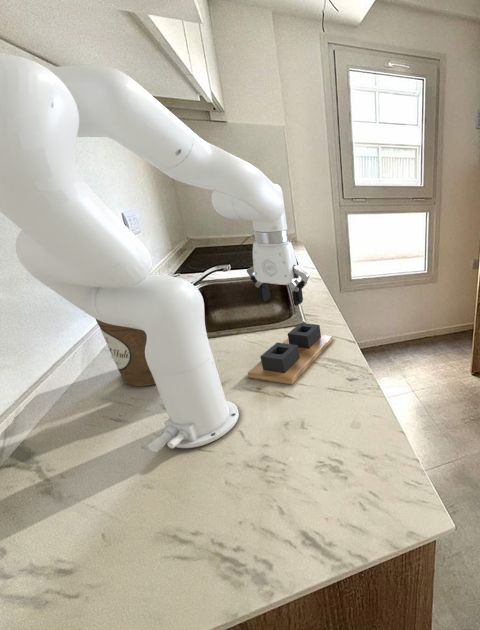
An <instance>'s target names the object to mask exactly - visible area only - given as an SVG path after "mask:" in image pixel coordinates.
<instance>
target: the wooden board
mask: <svg viewBox="0 0 480 630" xmlns="http://www.w3.org/2000/svg"><path fill="white" fill-rule="evenodd" d="M305 333H306V332H305ZM333 341H334V339H333V336H332V335H325V334H321V337H320V338H319V339H318V340H317V341H316V342H315V343H314V344H313V345H312V346H311V347H310V348H309V349H307V348H300V347H298V350H299V356H300V358H299V359H298V360H297V361H296V362H295V363H294V364H293V365H292V366H291V367H290V368H289V369H288V370H287V371H286V372H285V373H280V372H274V371H267V370H263V366H262V362H261V361H259V362H258V363H257V364H255V366H253V368H251V369H250V370H248V371H247V376H248V378H250V379H256V380H261V381H269V382H275V383H282V384H288V385H294V383H296V381H297V380H298V379H299V378H300V377H301V375H303V374H304V372H305V371H306V370H307V369H308V368H309V367H310V366H311V365H312V364H313V362H315V361H316V359H317V358H318V357H319V356H320V355H321V354H322V353H323V352H324V351H325V350H326V349H327V348H328V346H330V344H331V343H332V342H333ZM282 343H285V344H289V339H288V338H286V339H285V340H284V341H282ZM279 355H282V354H279Z"/></svg>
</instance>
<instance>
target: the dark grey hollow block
mask: <svg viewBox="0 0 480 630" xmlns="http://www.w3.org/2000/svg"><path fill="white" fill-rule="evenodd" d="M305 332H306V333H305ZM321 335H322V333H321V326H320V324H314V323H307V322H300V323H298V324H297V325H296V326H295V327H294V328H293V329H291V330H290V331H288V333H287V339H289V344H292V345H298V347H300V348H307V349H309V348H310V347H311V346H312V345H313V344H314V343H315V342H316V341H317V340H318V339H319V338H320V337H321Z"/></svg>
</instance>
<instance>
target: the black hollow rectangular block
mask: <svg viewBox="0 0 480 630" xmlns="http://www.w3.org/2000/svg"><path fill="white" fill-rule="evenodd" d="M279 354H282V355H279ZM259 357H260V362H262V366H263V370H267V371H274V372H280V373H285V372H286V371H287V370H288V369H289V368H290V367H291V366H292V365H293V364H294V363H295V362H296V361H297V360H298V359H299V358H300V356H299V350H298V345H292V344H285V343H283V342H276V343H274V344H273V345H272V346H270V347H269V348H268V349H267V350H266V351H265V352H264V353H263V354H261V355H260V356H259Z"/></svg>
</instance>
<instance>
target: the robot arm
mask: <svg viewBox="0 0 480 630" xmlns="http://www.w3.org/2000/svg"><path fill="white" fill-rule="evenodd" d="M77 138H108V139H110V140H113V141H115V142H116V143H118V144H119V145H121V146H123V147H124V148H125V149H127V150H129V151H130V152H132V153H133V154H135V155H137V157H139V158H141V159H142V160H144V161H146V162H147V163H149V164H150V165H152V166H153V167H154V168H156V169H157V170H159V171H160V172H162V173H163V174H164V175H166V176H168V177H169V178H171V179H172V180H175V181H178V182H180V183H184V184H186V185H189V186H192V187H196V188H200V189H205V190H209V191H212V194H211V199H210V200H211V205H212V206H213V209H214V210H215V212H216V213H218V215H220V216H222V217H224V218H225V219H228V220H229V219H230V220H233V221H234V220H235V221H251V222H252V228H253V231H251V234H250V235H251V236H252V237H253V238H254V239H255V242H253V243H252V266H251V267H249V268H247V269H246V273H247V274H248V276H249V277H250V281H252V282H253V284H254V285H255V288H257V289H258V295H259V298H260V302H261V303H264V302H267V301H269V300H270V299H271V293H270V286H269V284H272V285H280V286H282V285H283V286H290V288H291V289H292V290H293V291H291V294H292V302H293V306H294V307H298V306H299V305H301V304H302V303H303V301H304V296H303V289H304V288H305V286H306V285H307V284H308V281H309V278H310V274H309V273H308V272H307V271H305V270H303V269H301V268H300V267H298V261H297V257H296V253H295V250H294V247H293V244H292V242H290V238H289V231H288V230H289V229H288V224H287V223H288V222H287V217H286V207H285V202H284V201H285V200H284V194H283V189H282V187H281V186H280V185H279V184H277V183H274V182H273V181H271V180H270V178H268V177H267V176H266V175H265V174H264V173H263V172H262V171H261V170H260V169H259V168H257V167H256V166H254V165H252V164H251V163H250V162H248V161H246V160H244V159H242V158H240V157H238V156H236V155H234V154H232V153H230V152H229V151H226V150H224V149H222V148H221V147H219V146H216V145H214V144H212V143H210V142H207V141H205V139H202V138H201V137H200V136H199V135H198V134H197V133H195V131H193V130H192V129H191V128H190V127H189V126H188V125H187V124H185V123H184V122H183V121H182V120H180V118H178V117H177V115H175V114H173V112H172V111H170V110H169V109H168V108H167V107H166V106H165V105H163V104H162V103H161V102H160V101H159V100H158V99H157V98H156V97H154V96H153V95H152V94H151V93H150V92H149V91H148V90H146V89H145V88H144V87H143V86H142V85H141V84H139V83H138V82H137V81H136V80H134V78H132V77H130V76H129V75H128V74H126V73H125V72H123V71H121V70H119V69H117V68H114V67H110V66H106V65H100V64H99V65H97V64H93V65H92V64H89V65H88V64H86V65H84V64H83V65H68V66H67V65H66V66H63V65H62V66H44V65H42V64H40V63H38V62H36V61H34V60H31V59H29V58H27V57H23V56H19V55H15V54H10V53H3V52H2V53H1V52H0V213H2V214H3V216H5V217H6V218H7V219H8V220H10V221H11V222H12V223H13V224H15V226H17V227H18V229H20V232H19V233H18V234H17V237H16V239H15V252H16V256H17V258H18V261H19V262H20V263H21V265H22V266H23V267H24V269H25V271H27V272H28V273H29V274H30V275H31V276H32V277H34V278H35V279H36V281H38V282H40V283H41V284H43V285H44V286H45V287H47V288H49V289H50V290H52V291H53V292H54V293H56V295H59V296H60V297H62V298H63V299H64V300H66V301H68V302H69V303H70V304H72V305H74V306H75V307H76V308H78V309H79V310H80V311H82V312H83V313H85V314H87V315H88V316H90V317H92V318H94V319H95V320H96V319H97V320H99V321H102V322H104V323H107V324H111V325H116V326H122V327H129V328H135V329H140V330H143V331H145V333H146V335H147V341H146V346H145V357H146V361H147V364H148V367H149V369H150V371H151V373H152V376H153V378H154V381H155V383H156V384H155V387H156V388H157V390H158V393H159V396H160V398H161V401H162V403H163V405H164V408H165V410H166V413H167V416H168V419H167V420H165V421H164V425H165V429H163V431H162V434H161V435H159V436H157V437H156V438H155V439H154V440H152V441H151V442H150V443H148V445H147V447H148V449H149V450H150V451H151V452H152V453H158V452H159V451H160V450H161V449H162V448H164V447H165V446H166V445H167V447H168V448H169V449H174V448H179V449H193V448H198V447H202V446H205V445H208V444H210V443H212V442H214V441H217V440H218V439H220V438H221V437H224V436H225V435H226V434H227V433H228V432H230V431H231V429H233V427H235V426H236V424H237V422H238V421H239V417H240V416H239V415H240V412H239V408H238V406H237V405H236V404H235V403H233V402H232V401H229V400H227V399H226V395H225V392H224V389H223V385H222V381H221V378H220V375H219V372H218V369H217V365H216V361H215V358H214V355H213V352H212V348H211V345H210V342H209V338H208V333H207V329H206V319H205V318H206V316H205V315H206V314H205V313H206V312H205V302H204V298H203V295H202V293H201V292H200V290H199V288H197V287H196V286H195V285H194V284H193V283H191V282H190V281H189V280H186V279H183V278H180V277H177V276H171V275H165V274H156V273H151V272H152V271H153V270H152V269H153V260H152V259H153V258H152V256H151V254H150V251H149V250H148V249H147V247H146V246H145V244H144V243H143V242H142V240H140V239H139V237H138V236H136V234H134V232H132V230H131V229H129V227H128V226H127V225H126V224H125V223H124V222H122V220H121V219H120V218H119V217H118V216H117V215H116V214H115V213H114V212H113V211H112V210H111V209H110V208H109V207H108V206H107V205H106V204H105V203H104V202H103V200H101V199H100V198H99V196H98V195H97V194H96V193H95V192H94V190H92V188H91V187H90V186H89V185H88V183H87V182H86V180H85V179H84V177H83V176H82V173H81V172H80V168H79V165H78V161H77V153H76V152H77V151H76V150H77V149H76V148H77V140H78V139H77ZM299 278H301V279H299Z"/></svg>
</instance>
